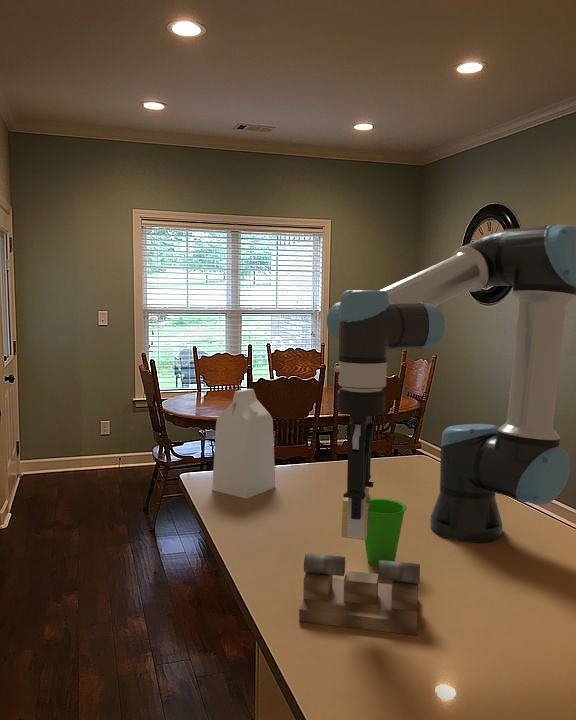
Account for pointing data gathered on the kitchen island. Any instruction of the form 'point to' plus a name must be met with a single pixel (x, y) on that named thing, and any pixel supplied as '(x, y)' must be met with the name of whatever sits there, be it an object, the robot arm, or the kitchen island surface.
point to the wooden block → (345, 517)
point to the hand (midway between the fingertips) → (357, 531)
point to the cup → (384, 529)
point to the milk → (244, 448)
